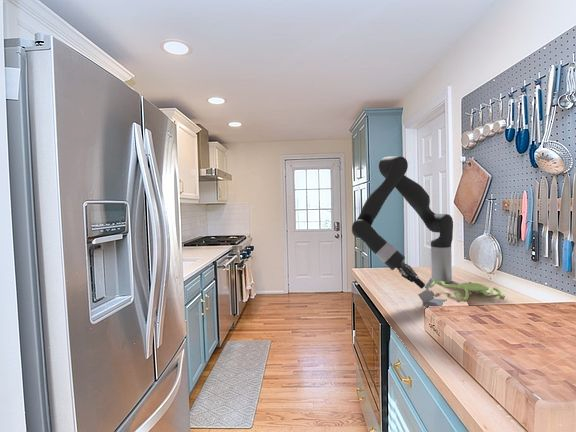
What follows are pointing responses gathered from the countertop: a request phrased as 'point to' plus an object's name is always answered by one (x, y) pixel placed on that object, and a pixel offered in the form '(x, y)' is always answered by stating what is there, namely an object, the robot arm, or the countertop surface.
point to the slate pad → (435, 302)
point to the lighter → (427, 292)
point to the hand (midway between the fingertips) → (423, 286)
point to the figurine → (470, 289)
